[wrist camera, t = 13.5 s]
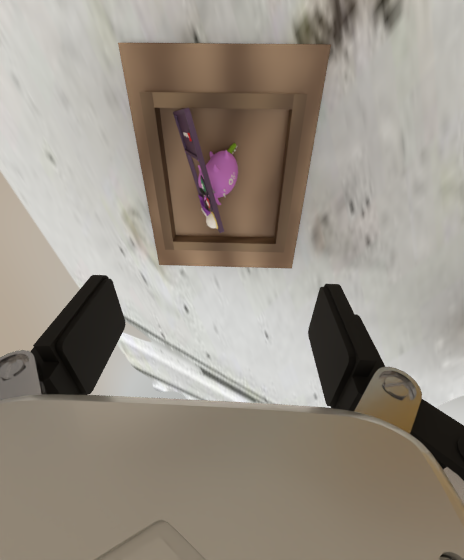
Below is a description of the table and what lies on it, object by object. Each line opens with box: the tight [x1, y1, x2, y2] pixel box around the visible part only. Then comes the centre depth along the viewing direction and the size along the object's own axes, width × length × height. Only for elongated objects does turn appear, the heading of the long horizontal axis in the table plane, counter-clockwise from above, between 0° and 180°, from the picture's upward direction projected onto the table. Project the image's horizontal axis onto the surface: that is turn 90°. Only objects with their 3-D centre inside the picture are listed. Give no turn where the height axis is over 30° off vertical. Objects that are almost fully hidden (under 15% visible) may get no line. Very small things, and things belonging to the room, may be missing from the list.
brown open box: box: [118, 43, 331, 268], centre depth 25 cm, size 16×20×3 cm
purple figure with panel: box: [173, 107, 238, 233], centre depth 22 cm, size 7×5×9 cm
